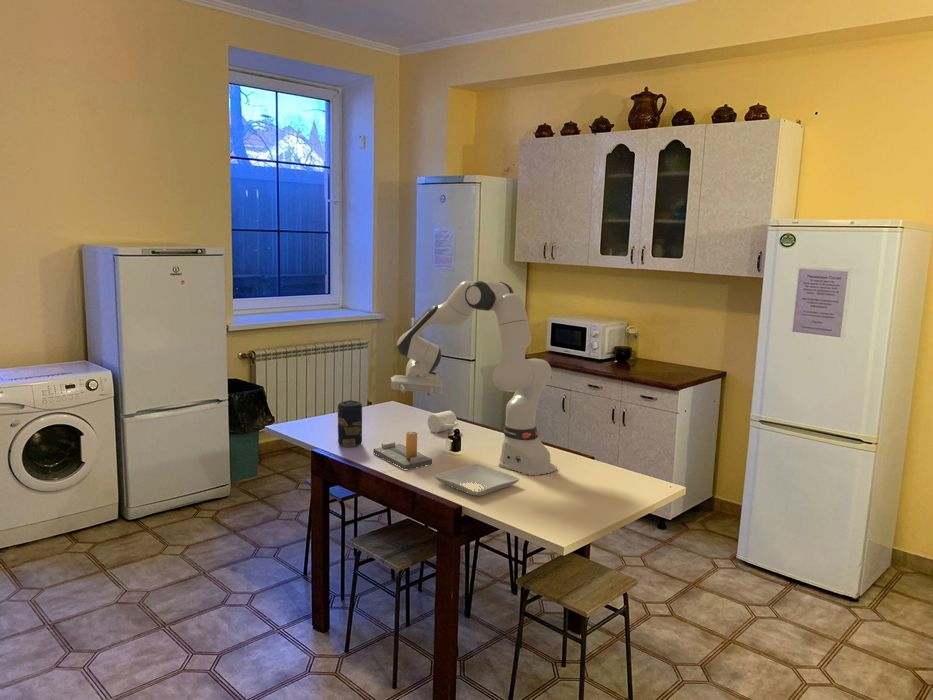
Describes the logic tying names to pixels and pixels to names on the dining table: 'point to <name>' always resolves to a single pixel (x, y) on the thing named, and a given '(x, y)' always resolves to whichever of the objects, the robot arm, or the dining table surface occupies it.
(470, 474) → the salad plate
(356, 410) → the canister
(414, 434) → the fader knob
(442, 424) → the mug
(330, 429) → the dining table surface
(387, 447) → the console
